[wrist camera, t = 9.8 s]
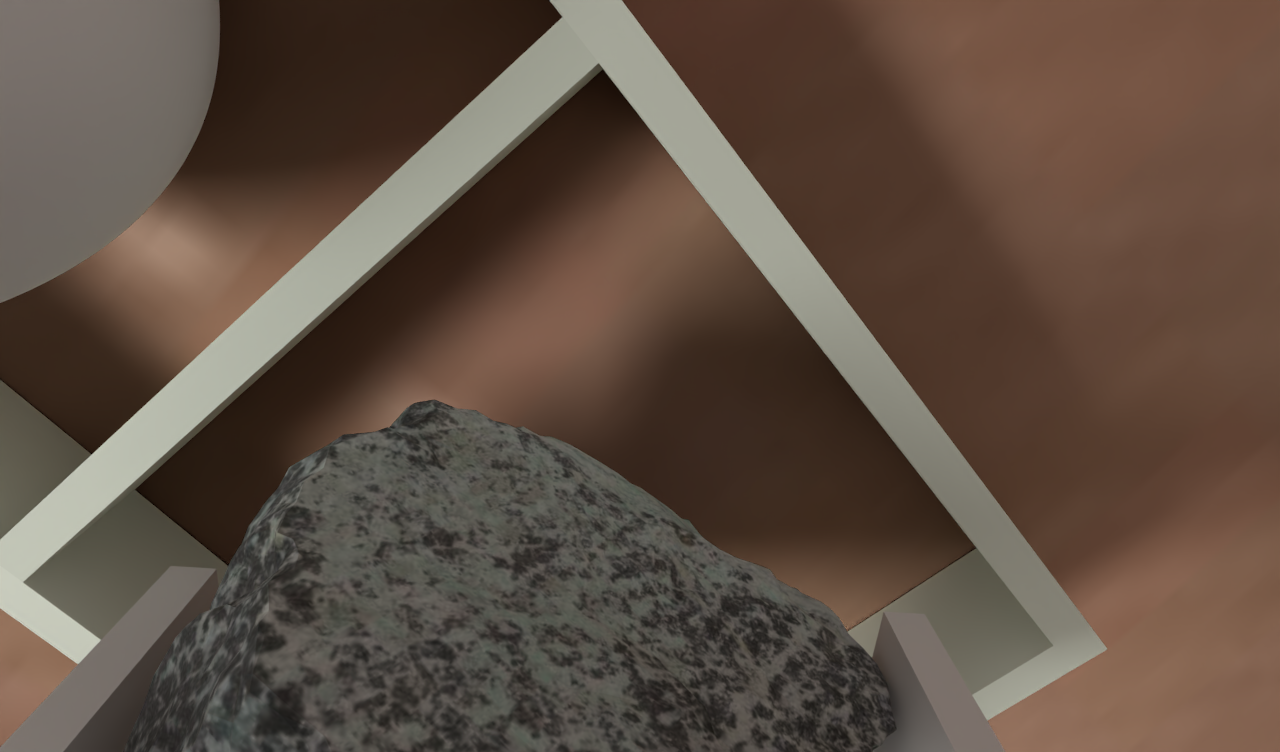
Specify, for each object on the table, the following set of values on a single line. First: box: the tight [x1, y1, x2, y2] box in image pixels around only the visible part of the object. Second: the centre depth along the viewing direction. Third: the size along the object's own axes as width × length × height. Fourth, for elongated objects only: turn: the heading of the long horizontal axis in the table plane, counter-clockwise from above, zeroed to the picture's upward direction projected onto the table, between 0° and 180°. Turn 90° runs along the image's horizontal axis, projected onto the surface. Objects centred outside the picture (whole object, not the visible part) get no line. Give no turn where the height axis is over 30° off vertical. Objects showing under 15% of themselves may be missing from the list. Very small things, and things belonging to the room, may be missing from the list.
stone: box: [123, 400, 897, 752], centre depth 12 cm, size 10×10×10 cm
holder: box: [0, 0, 1107, 720], centre depth 14 cm, size 30×16×4 cm, turn 39°
